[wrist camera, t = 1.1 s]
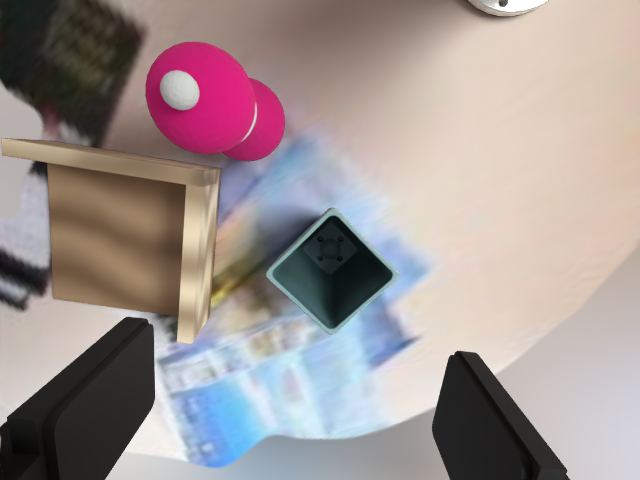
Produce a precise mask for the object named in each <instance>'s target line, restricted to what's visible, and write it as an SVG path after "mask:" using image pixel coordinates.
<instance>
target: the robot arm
mask: <svg viewBox="0 0 640 480" xmlns="http://www.w3.org/2000/svg"><path fill="white" fill-rule="evenodd" d="M468 1H469V2H470V3H471V4H473V5H474V6H475V7H476V8H478V9H480V10H482V11H484V12H486V13H489V14H493V15H497V16H515V15H520V14H524V13H527V12H529V11H532V10H534V9H536V8H538V7H539V6H541V5H543V4H544V3H546V2H548V1H549V0H468ZM499 4H500V6H499ZM154 400H155V372H154V328H153V325H152V324H149V322H148V320H147V319H144V318H134V317H126V318H124V319H123V320H122V321H120V322H119V323H118V324H117V325H116V326H114V327H113V328H112V329H111V330H110V331H109V332H107V333H106V334H105V335H104V336H103V337H101V338H100V339H99V340H98V341H97V342H96V343H94V344H93V345H92V346H91V347H90V348H88V349H87V350H86V351H85V352H84V353H83V354H81V355H80V356H79V357H78V358H77V359H75V360H74V361H73V362H72V363H71V364H70V365H68V366H67V367H66V368H65V369H64V370H62V371H61V372H60V373H59V374H58V375H57V376H55V377H54V378H53V379H52V380H51V381H49V382H48V383H47V384H46V385H45V386H44V387H42V388H41V389H40V390H39V391H38V392H36V393H35V394H34V395H33V396H32V397H30V398H29V399H28V400H27V401H26V402H25V403H23V404H22V405H21V406H20V407H19V408H17V409H16V410H15V411H14V412H13V413H12V414H10V415H9V416H8V417H7V422H5V423H4V424H3V425H2V426H1V427H0V480H105V479H106V477H107V476H108V474H109V473H110V471H111V470H112V468H113V466H114V465H115V464H116V462H117V460H118V459H119V457H120V456H121V454H122V453H123V451H124V450H125V448H126V447H127V445H128V444H129V442H130V441H131V439H132V438H133V436H134V435H135V433H136V432H137V430H138V429H139V427H140V426H141V424H142V423H143V421H144V420H145V418H146V417H147V415H148V414H149V412H150V410H151V409H152V406H153V404H154ZM432 432H433V436H434V439H435V442H436V444H437V447H438V450H439V452H440V455H441V457H442V459H443V462H444V465H445V467H446V470H447V472H448V475H449V478H450V480H570V479H569V478H568V476H567V475H566V473H567V469H566V468H565V467H564V465H563V464H562V463H561V461H560V460H559V459H558V458H557V456H556V455H555V454H554V452H553V451H552V450H551V448H550V447H549V446H548V445H547V443H546V442H545V441H544V440H543V438H542V437H541V436H540V434H539V433H538V432H537V430H536V429H535V428H534V426H533V425H532V424H531V423H530V421H529V420H528V419H527V417H526V416H525V415H524V413H523V412H522V411H521V410H520V408H519V407H518V406H517V404H516V403H515V402H514V400H513V399H512V398H511V397H510V395H509V394H508V393H507V391H506V390H505V389H504V388H503V386H502V385H501V384H500V382H499V381H498V380H497V379H496V377H495V376H494V375H493V373H492V372H491V371H490V369H489V368H488V367H487V365H486V364H485V363H484V362H483V360H482V359H481V358H480V356H479V355H478V354H477V353H473V352H464V351H457V352H455V354H454V355H450V357H449V359H448V363H447V367H446V371H445V375H444V379H443V383H442V387H441V391H440V395H439V399H438V403H437V407H436V411H435V416H434V420H433V424H432Z"/></svg>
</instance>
